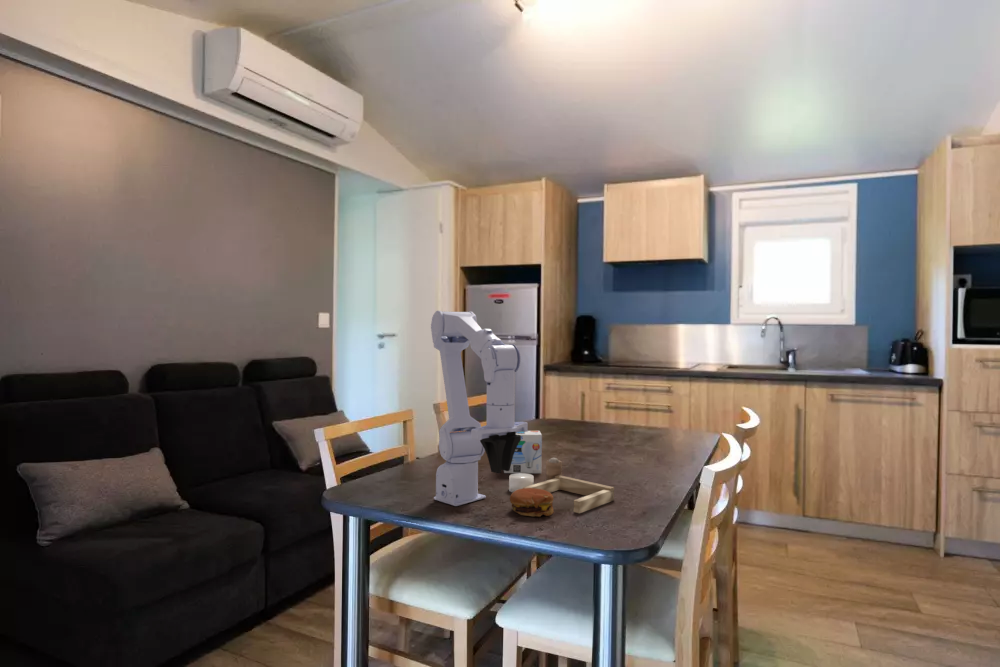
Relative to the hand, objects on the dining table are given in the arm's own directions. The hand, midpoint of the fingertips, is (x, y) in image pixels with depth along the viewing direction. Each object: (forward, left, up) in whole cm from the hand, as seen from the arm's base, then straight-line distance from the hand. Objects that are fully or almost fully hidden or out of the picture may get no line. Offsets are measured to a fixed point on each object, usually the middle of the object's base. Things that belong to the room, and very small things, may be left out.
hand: (500, 471), depth 114 cm
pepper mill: (+30, +10, -10) cm, 33 cm away
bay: (+23, 0, -10) cm, 25 cm away
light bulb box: (+36, +26, -11) cm, 46 cm away
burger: (+10, 0, -11) cm, 15 cm away
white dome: (+21, +13, -11) cm, 27 cm away
